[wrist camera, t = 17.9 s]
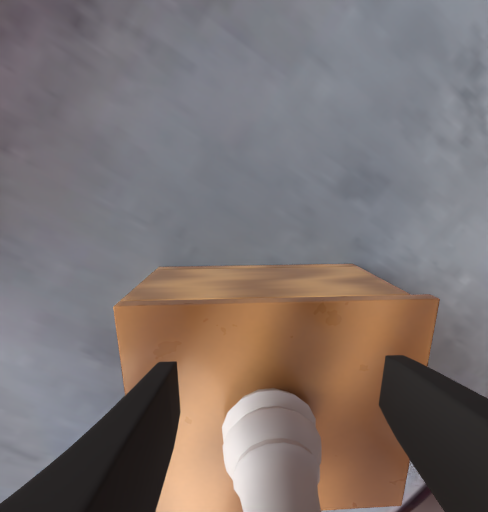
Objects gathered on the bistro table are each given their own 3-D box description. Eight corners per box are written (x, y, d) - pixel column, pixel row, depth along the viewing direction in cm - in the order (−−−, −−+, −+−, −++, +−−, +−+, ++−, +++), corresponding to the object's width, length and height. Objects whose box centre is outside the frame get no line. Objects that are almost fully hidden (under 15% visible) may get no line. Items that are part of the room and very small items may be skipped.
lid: (429, 293, 11) (440, 298, 11) (394, 493, 14) (402, 506, 13) (118, 300, 11) (112, 306, 10) (145, 507, 13) (141, 521, 13)
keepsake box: (353, 263, 17) (411, 294, 11) (338, 411, 20) (380, 494, 14) (158, 266, 16) (119, 300, 11) (171, 417, 19) (146, 506, 14)
